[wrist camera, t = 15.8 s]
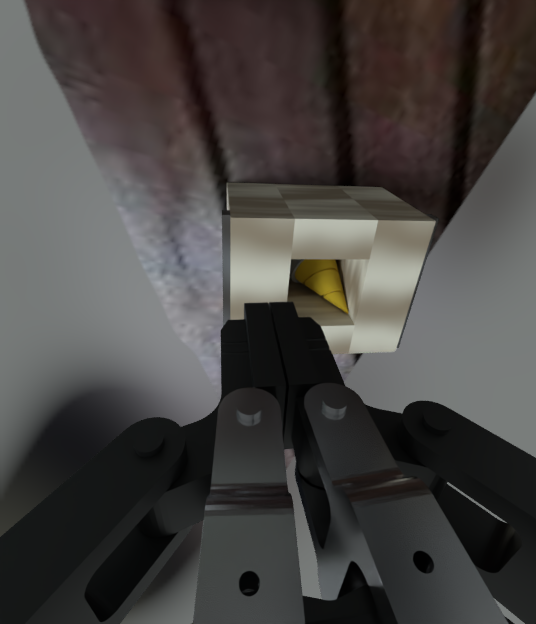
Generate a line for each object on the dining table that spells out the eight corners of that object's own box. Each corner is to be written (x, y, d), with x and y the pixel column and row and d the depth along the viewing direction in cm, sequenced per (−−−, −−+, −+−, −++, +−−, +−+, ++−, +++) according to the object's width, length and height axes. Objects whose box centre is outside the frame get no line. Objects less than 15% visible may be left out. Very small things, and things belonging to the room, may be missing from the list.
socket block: (220, 182, 35) (222, 217, 26) (387, 187, 37) (443, 221, 28) (222, 297, 42) (223, 357, 33) (362, 295, 44) (401, 351, 35)
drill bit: (326, 222, 38) (382, 293, 34) (301, 258, 42) (348, 326, 37) (290, 218, 35) (347, 297, 31) (265, 258, 38) (313, 333, 34)
